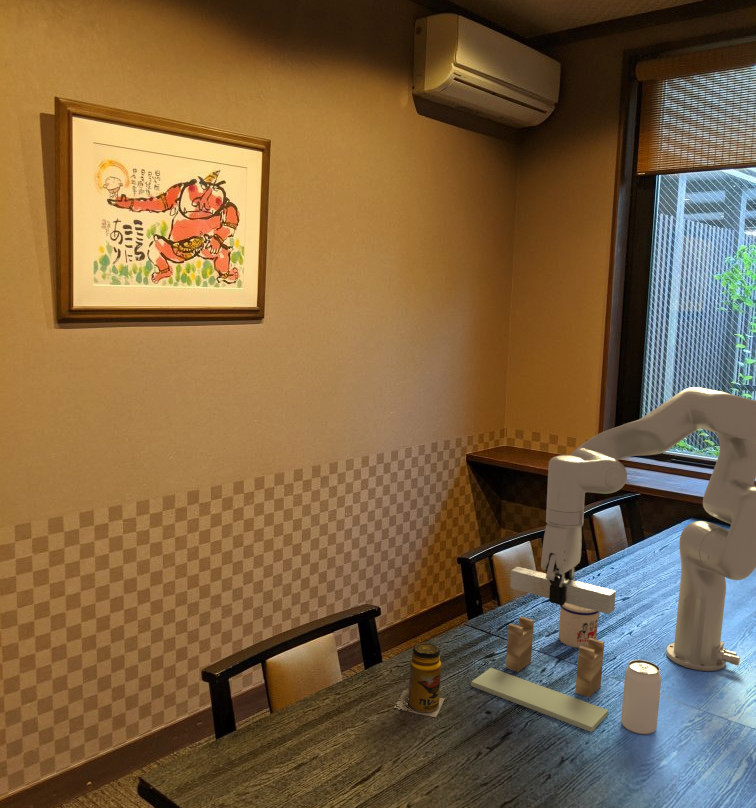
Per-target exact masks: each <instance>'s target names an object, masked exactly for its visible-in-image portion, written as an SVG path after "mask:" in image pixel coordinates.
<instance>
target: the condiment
mask: <svg viewBox="0 0 756 808" xmlns="http://www.w3.org/2000/svg"><path fill="white" fill-rule="evenodd" d="M440 653H441V649H440V647H438V645H436V644H434V643H430V642H420V643H417V644H415V645H414V646H413V647H412V654H411V655H412V656H411V659H410V663H409V683H408V687H409V688H408V690H404V689H403V691H402V694H401V695H400V697H399V698H398V700H401V701H396V704H400V705H397V706H400V708H398V707H396V705H394V707H393V709H394V708H398V709H397V710H399V711H404V712H410V713H413V714H417V715H422V716H426V717H433V718H437V716H438V714H439V712H440V710H441V709H442V706H443V703H444V701H445V699H446V698H445V697H444V698H443V697H440V694H441V691H440V690H441V675H442V674H441V673H442V662H441V656H440ZM406 697H408V698H409V700H408V698H406ZM400 698H401V699H400ZM404 701H405V702H404ZM406 702H407V703H408V706H409V707H410V708H411V709H412V711H407V710H410V709H406V708H405V707H406V706H407V705H406V706H404V707H402V706H403V705H404V704H403V703H406ZM408 706H407V707H408ZM400 709H402V710H400ZM415 711H416V712H415Z"/></svg>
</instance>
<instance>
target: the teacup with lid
mask: <svg viewBox="0 0 756 808" xmlns="http://www.w3.org/2000/svg"><path fill="white" fill-rule="evenodd" d="M559 606H560V612H559V613H560V614H559V622H558V623H559V625H558V639H559V641H560V642H561V643H562V644H564V645H565V646H566V645H567V646H569V647H571V648H576V649H579V647H580V646H584V647H587V648H588V641H589V639H590V638H593V639H596V640H597V635H598V634H597V633H598V622H599V618H600V616H601V615H600V613H601V612H598V611H595V610H591V609H587V608H583V607H580V606H576V605H572V604H568V603H565V604H564V605H559Z"/></svg>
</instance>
